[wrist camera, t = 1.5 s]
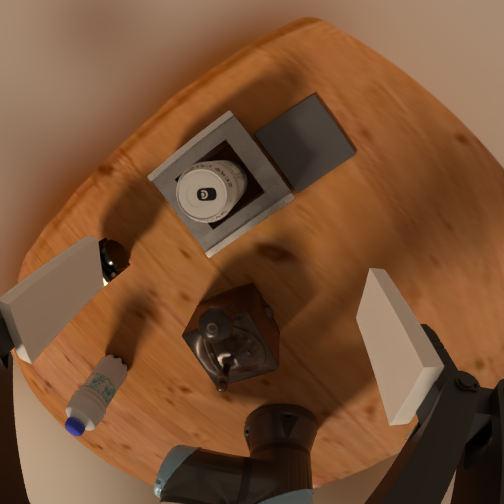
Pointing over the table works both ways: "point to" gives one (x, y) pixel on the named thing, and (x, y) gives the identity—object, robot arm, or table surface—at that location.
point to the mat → (305, 143)
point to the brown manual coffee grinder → (234, 336)
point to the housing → (255, 160)
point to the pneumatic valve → (112, 259)
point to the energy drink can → (210, 189)
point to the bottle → (95, 395)
